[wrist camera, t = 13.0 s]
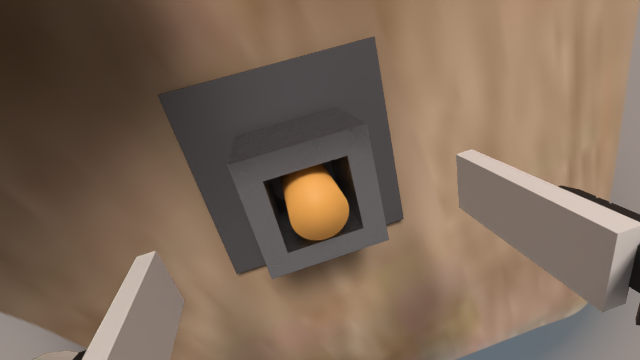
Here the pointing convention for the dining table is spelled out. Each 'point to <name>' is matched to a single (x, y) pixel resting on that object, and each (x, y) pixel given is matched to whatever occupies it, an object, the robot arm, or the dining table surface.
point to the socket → (296, 154)
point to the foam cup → (57, 356)
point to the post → (313, 201)
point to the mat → (273, 108)
